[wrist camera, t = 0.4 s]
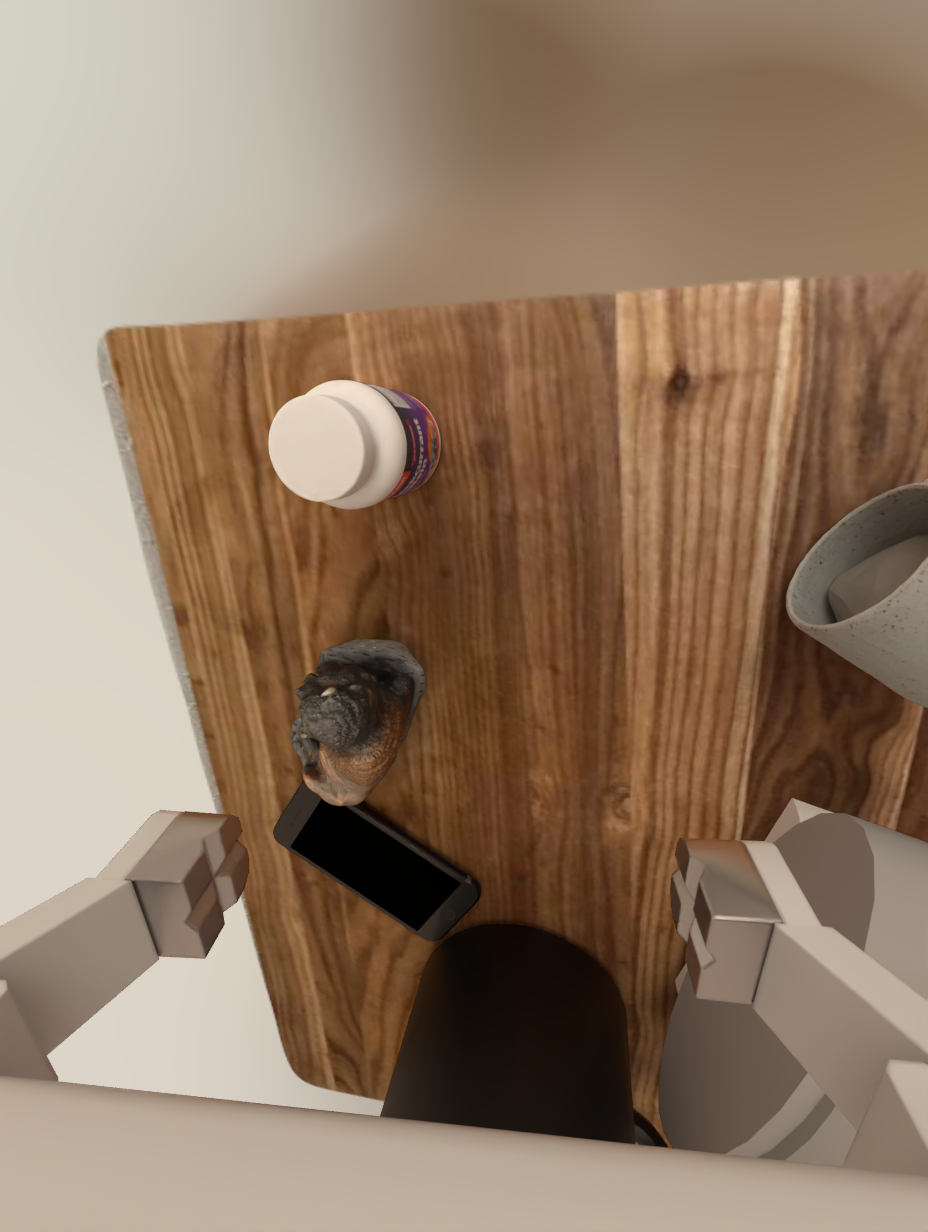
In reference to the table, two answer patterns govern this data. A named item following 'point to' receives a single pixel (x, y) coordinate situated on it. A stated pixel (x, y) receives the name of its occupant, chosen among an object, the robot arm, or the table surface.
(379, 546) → the table surface
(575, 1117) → the mug
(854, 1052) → the robot arm
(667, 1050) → the alarm clock
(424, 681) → the bison figurine
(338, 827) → the smartphone
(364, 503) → the pill bottle
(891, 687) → the ceramic mug
